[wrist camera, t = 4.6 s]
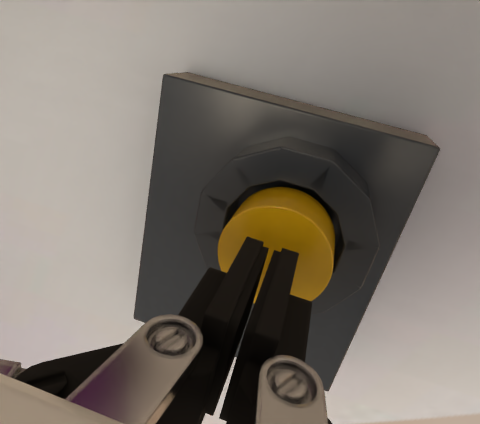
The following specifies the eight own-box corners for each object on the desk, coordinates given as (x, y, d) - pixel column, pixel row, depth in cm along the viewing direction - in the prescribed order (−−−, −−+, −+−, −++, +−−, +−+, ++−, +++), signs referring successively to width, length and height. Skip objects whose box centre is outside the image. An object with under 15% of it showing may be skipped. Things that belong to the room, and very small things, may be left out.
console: (186, 71, 17) (137, 75, 13) (427, 135, 16) (456, 161, 12) (153, 293, 23) (112, 343, 19) (330, 357, 21) (326, 427, 17)
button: (244, 173, 14) (229, 190, 12) (350, 204, 13) (350, 227, 12) (224, 261, 16) (207, 288, 14) (316, 292, 15) (312, 325, 13)
